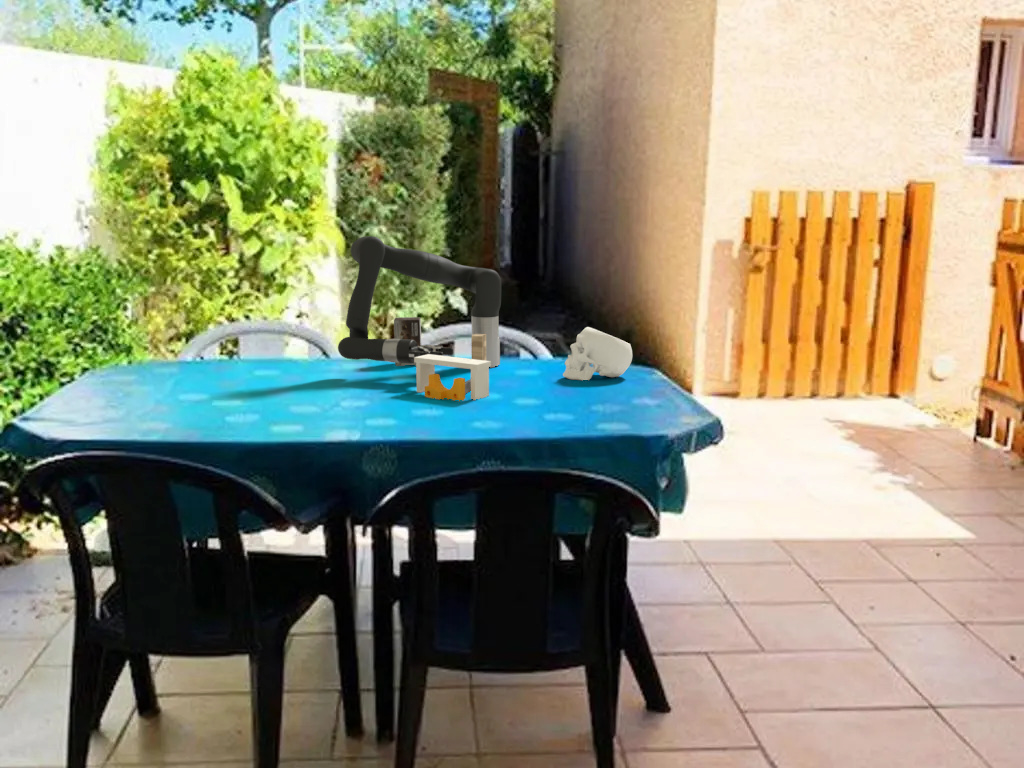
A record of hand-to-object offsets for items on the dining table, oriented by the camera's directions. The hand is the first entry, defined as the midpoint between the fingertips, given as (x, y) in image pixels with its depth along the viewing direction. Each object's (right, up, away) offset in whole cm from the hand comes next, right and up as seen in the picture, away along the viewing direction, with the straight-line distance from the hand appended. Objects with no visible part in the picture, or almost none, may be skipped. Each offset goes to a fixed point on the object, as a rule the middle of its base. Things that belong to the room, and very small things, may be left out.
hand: (448, 353), depth 316 cm
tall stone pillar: (+7, -12, -9) cm, 16 cm away
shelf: (+2, -12, -13) cm, 18 cm away
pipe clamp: (0, -14, -18) cm, 23 cm away
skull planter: (+47, -8, +13) cm, 50 cm away
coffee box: (-16, -3, +37) cm, 41 cm away
